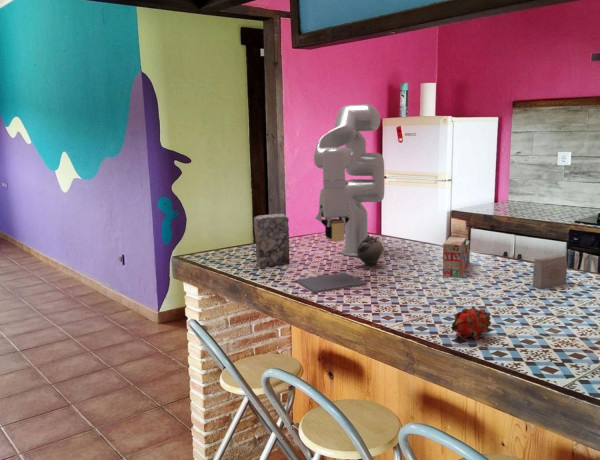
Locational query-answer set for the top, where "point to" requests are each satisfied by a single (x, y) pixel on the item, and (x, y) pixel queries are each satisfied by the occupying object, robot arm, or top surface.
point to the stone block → (271, 239)
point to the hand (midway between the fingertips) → (335, 236)
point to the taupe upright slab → (549, 272)
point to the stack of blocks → (455, 256)
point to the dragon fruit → (471, 323)
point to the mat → (330, 282)
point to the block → (337, 230)
